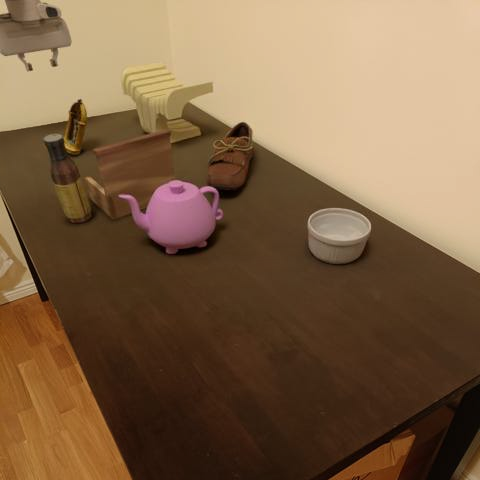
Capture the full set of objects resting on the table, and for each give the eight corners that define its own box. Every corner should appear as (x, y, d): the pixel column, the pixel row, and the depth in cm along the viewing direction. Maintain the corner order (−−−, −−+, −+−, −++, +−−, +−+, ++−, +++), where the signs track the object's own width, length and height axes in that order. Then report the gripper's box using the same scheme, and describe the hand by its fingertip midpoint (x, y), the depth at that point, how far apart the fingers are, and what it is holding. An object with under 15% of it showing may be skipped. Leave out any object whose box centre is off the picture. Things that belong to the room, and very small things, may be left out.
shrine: (94, 144, 138) (82, 94, 128) (96, 154, 133) (84, 102, 122) (57, 149, 136) (41, 98, 125) (58, 159, 130) (42, 107, 120)
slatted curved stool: (129, 126, 150) (119, 69, 137) (169, 116, 156) (162, 61, 144) (172, 154, 132) (165, 92, 120) (215, 142, 139) (212, 81, 126)
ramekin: (294, 240, 97) (297, 213, 93) (345, 229, 101) (350, 202, 96) (322, 274, 89) (327, 246, 84) (377, 260, 92) (384, 232, 87)
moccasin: (231, 204, 109) (230, 158, 101) (188, 196, 113) (183, 150, 104) (271, 157, 130) (272, 115, 122) (233, 151, 134) (232, 110, 125)
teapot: (137, 270, 90) (125, 211, 80) (123, 232, 100) (111, 177, 91) (235, 247, 96) (234, 190, 86) (212, 214, 106) (209, 160, 97)
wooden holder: (90, 199, 112) (71, 133, 100) (153, 179, 120) (143, 115, 108) (112, 220, 104) (96, 151, 93) (178, 197, 113) (170, 131, 101)
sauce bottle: (82, 209, 108) (59, 128, 95) (98, 217, 106) (76, 135, 92) (60, 219, 105) (32, 137, 91) (75, 228, 102) (49, 144, 88)
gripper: (-11, 17, 110) (9, 77, 120) (66, 8, 119) (79, 64, 128) (-18, 13, 114) (2, 72, 123) (57, 5, 122) (71, 60, 132)
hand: (42, 68), depth 126 cm, fingers open, 6 cm apart
